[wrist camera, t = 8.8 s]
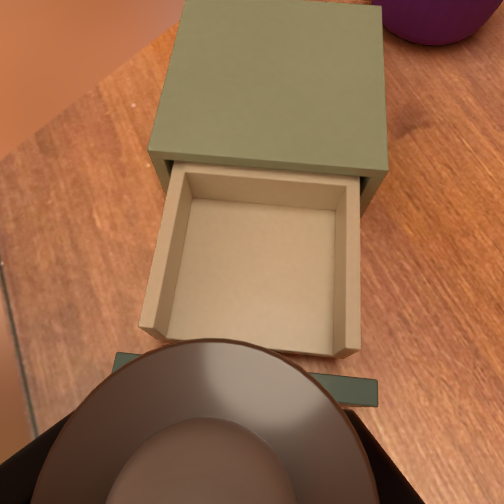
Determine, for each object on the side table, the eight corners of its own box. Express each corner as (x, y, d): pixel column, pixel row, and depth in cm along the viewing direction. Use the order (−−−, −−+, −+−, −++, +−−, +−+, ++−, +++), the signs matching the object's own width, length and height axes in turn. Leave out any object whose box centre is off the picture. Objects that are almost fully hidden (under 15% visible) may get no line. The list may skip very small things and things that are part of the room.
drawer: (355, 488, 19) (381, 509, 15) (120, 460, 20) (87, 474, 16) (354, 210, 26) (373, 174, 22) (175, 194, 26) (161, 156, 22)
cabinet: (359, 221, 26) (389, 170, 21) (168, 203, 27) (146, 149, 21) (358, 77, 31) (381, 5, 26) (198, 64, 32) (186, -8, 26)
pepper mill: (281, 582, 11) (373, 1131, 3) (123, 511, 11) (-196, 775, 3) (328, 403, 12) (468, 401, 4) (189, 351, 13) (89, 264, 5)
